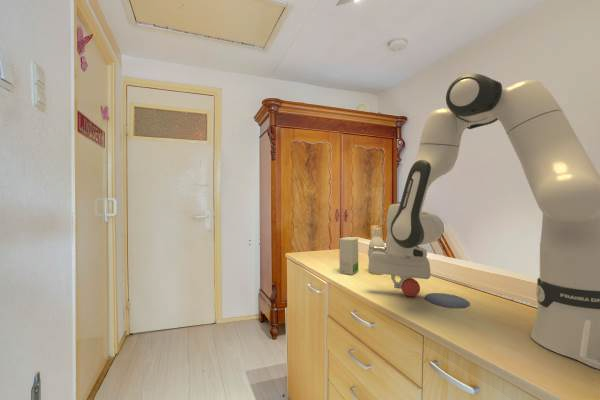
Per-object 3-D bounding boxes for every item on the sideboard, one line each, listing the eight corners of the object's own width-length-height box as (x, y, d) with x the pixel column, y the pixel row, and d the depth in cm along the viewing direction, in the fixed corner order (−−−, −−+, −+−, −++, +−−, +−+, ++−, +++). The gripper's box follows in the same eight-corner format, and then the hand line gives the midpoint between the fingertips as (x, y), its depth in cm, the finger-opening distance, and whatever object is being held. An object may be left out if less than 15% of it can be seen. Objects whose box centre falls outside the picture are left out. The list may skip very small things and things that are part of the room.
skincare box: (352, 275, 120) (352, 239, 120) (338, 273, 123) (338, 238, 123) (358, 271, 127) (359, 237, 127) (345, 269, 130) (345, 236, 130)
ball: (411, 297, 97) (424, 285, 96) (411, 302, 91) (424, 290, 90) (398, 284, 99) (409, 273, 98) (396, 289, 93) (409, 276, 92)
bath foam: (367, 270, 129) (367, 227, 129) (382, 270, 128) (382, 227, 128) (370, 274, 122) (370, 229, 122) (386, 274, 121) (386, 229, 121)
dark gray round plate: (464, 296, 95) (464, 295, 95) (474, 310, 82) (474, 309, 82) (423, 291, 99) (423, 291, 99) (426, 304, 87) (426, 304, 87)
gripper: (367, 247, 96) (366, 286, 96) (432, 253, 89) (430, 295, 90) (369, 244, 102) (367, 281, 102) (429, 249, 95) (428, 289, 96)
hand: (397, 287), depth 96 cm, fingers closed
